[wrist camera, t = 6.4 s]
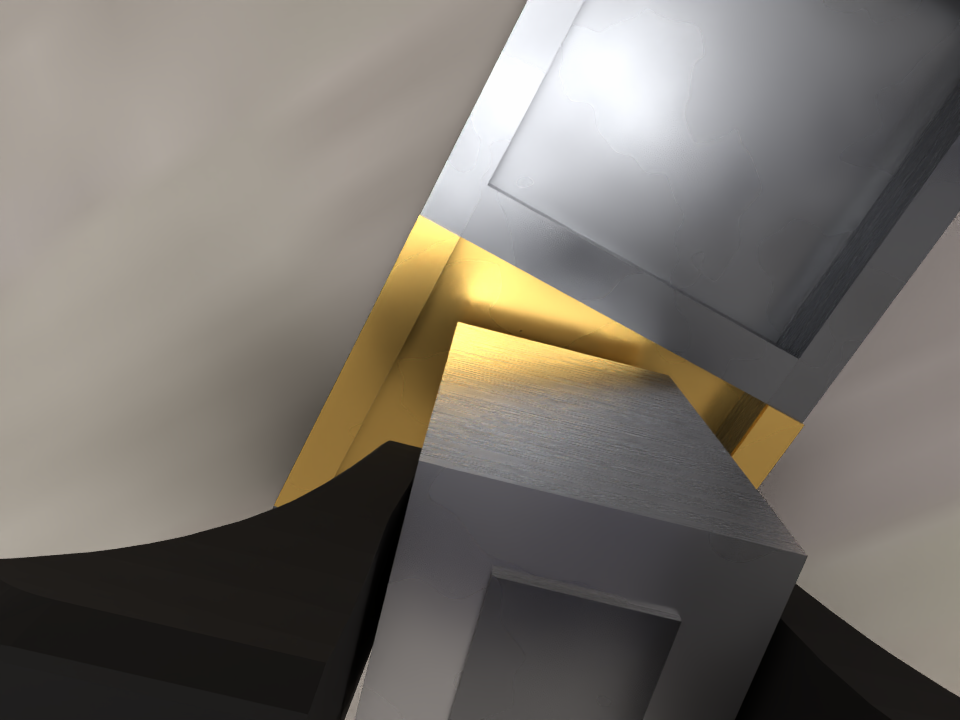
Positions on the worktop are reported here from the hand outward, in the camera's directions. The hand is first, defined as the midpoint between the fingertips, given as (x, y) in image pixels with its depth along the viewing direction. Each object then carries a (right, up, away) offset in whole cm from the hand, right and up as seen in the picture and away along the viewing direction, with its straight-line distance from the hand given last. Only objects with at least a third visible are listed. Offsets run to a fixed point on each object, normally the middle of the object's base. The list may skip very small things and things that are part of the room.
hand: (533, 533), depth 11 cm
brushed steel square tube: (0, +1, +2) cm, 2 cm away
